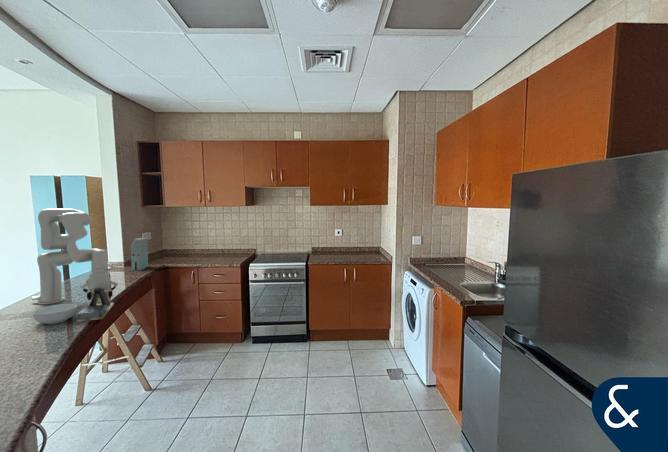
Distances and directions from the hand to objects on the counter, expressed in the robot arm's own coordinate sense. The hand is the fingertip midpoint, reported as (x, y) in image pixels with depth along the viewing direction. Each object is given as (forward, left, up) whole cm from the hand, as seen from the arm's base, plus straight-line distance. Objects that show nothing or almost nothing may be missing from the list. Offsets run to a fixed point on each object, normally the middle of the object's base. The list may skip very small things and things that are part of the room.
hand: (100, 298), depth 169 cm
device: (+3, +123, -7) cm, 123 cm away
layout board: (0, -6, -6) cm, 9 cm away
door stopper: (0, 0, -5) cm, 5 cm away
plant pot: (-12, +41, -6) cm, 43 cm away
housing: (0, -14, -5) cm, 15 cm away
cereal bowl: (-15, -14, -7) cm, 22 cm away
